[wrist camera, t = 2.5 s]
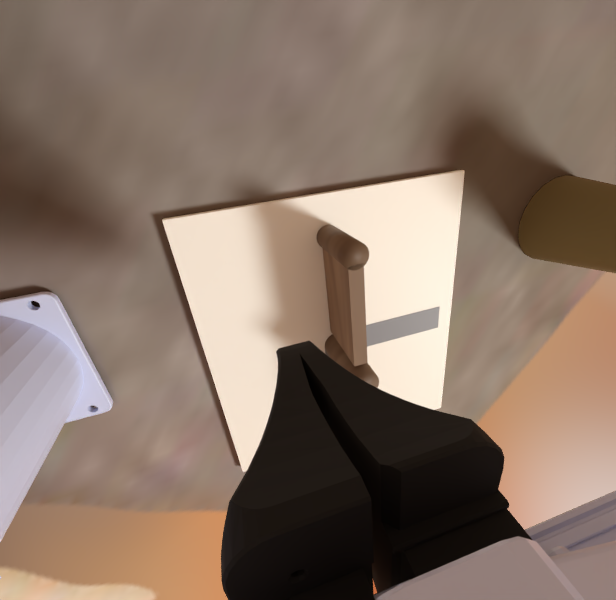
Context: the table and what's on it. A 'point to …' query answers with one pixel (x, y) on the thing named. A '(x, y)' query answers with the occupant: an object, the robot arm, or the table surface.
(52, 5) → the table surface
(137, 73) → the table surface
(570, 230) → the cork
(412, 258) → the card
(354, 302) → the fence gate
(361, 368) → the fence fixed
